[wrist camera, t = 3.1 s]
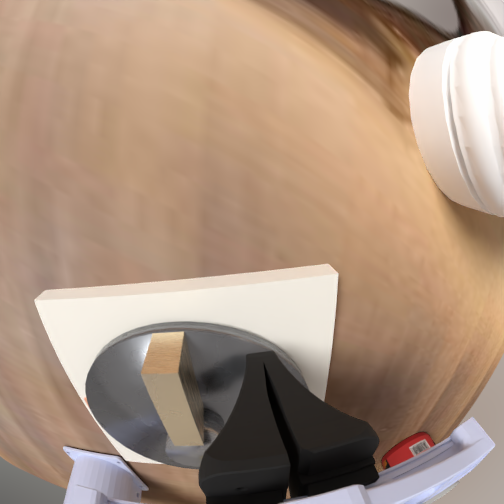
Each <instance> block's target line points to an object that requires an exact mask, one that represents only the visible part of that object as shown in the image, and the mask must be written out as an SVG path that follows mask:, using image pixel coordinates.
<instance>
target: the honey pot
mask: <svg viewBox="0 0 504 504" xmlns="http://www.w3.org/2000/svg"><path fill="white" fill-rule="evenodd" d="M409 101H410V111H411V121H412V125H413V129H414V133H415V137H416V141H417V145H418V148H419V150H420V153H421V155H422V158H423V160H424V163H425V165H426V168H427V170H428V171H429V173H430V175H431V176H432V178H433V180H434V181H435V183H436V185H437V186H438V188H439V189H440V190H441V191H442V192H443V193H444V194H445V195H446V196H447V197H448V198H449V199H450V200H452V201H454V202H456V203H458V204H460V205H462V206H465V207H468V208H472V209H475V210H478V211H482V212H485V213H488V214H491V215H496V216H498V217H504V36H503V37H500V36H498V35H496V34H494V33H491V32H489V31H480V32H475V33H471V34H470V35H465V36H461V37H459V38H455V39H452V40H449V41H446V42H443V43H441V44H438V45H435V46H432V47H430V48H427V49H425V50H424V51H423V52H422V53H421V55H420V56H419V57H418V58H417V59H416V62H415V64H414V67H413V70H412V72H411V78H410V89H409Z"/></svg>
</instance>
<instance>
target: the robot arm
mask: <svg viewBox="0 0 504 504" xmlns="http://www.w3.org/2000/svg"><path fill="white" fill-rule="evenodd" d="M378 444H379V438H378V436H377V434H376V433H375V431H374V430H373V429H372V427H371V426H370V425H369V424H368V422H365V421H362V420H359V419H357V418H354V417H351V416H349V415H347V414H345V413H343V412H341V411H339V410H337V409H335V408H334V407H332V406H330V405H328V404H327V403H325V402H324V401H322V400H321V399H319V398H318V397H317V396H315V395H314V394H313V393H311V392H310V391H309V390H308V389H307V388H306V387H304V386H303V385H302V384H301V383H300V382H299V381H298V380H297V379H296V378H295V377H294V376H293V375H292V374H291V372H290V371H289V370H288V369H287V368H286V367H285V365H284V364H283V363H282V362H281V360H280V359H279V358H278V356H277V355H276V353H275V352H274V351H266V352H258V353H250V354H247V355H246V368H245V374H244V379H243V383H242V387H241V390H240V393H239V396H238V398H237V401H236V404H235V406H234V408H233V410H232V412H231V414H230V416H229V418H228V420H227V422H226V424H225V425H224V427H223V428H222V430H221V431H220V433H219V434H218V436H217V437H216V439H215V440H214V441H213V442H212V444H211V445H210V446H209V447H208V448H207V450H206V451H205V452H204V455H203V458H202V461H201V464H200V468H199V486H200V488H201V489H202V491H203V492H204V494H205V495H206V504H423V503H424V502H426V501H428V500H429V499H431V498H433V497H434V496H436V495H437V494H439V493H440V492H442V491H443V490H445V489H446V488H448V487H449V486H451V485H452V484H454V483H455V482H456V481H458V480H459V479H461V478H462V477H463V476H465V475H466V474H467V473H469V472H470V471H471V470H473V469H474V468H475V467H476V466H477V465H478V463H480V462H481V460H482V459H484V457H485V456H486V455H487V454H488V453H489V452H490V451H491V450H492V449H493V448H494V447H495V444H494V442H493V441H492V440H491V439H490V437H489V436H488V435H487V433H486V432H485V431H484V430H483V429H482V427H481V426H480V425H479V424H478V422H477V421H476V420H475V419H474V417H471V418H469V419H468V420H466V421H465V422H464V423H462V424H460V425H459V426H458V427H457V428H455V430H454V431H453V432H452V433H451V435H450V437H448V438H447V439H445V440H443V441H442V442H440V443H438V444H437V445H435V446H433V447H431V448H429V449H428V450H426V451H424V452H422V453H420V454H418V455H416V456H414V457H412V458H410V459H408V460H406V461H404V462H402V463H400V464H397V465H395V466H393V467H391V468H388V469H386V470H384V471H381V472H379V473H378V472H377V470H376V468H375V466H374V464H375V460H374V458H373V454H374V452H375V450H376V448H377V447H378ZM63 450H64V451H65V452H66V453H67V454H68V455H69V456H70V457H71V458H72V459H73V460H74V461H75V463H74V466H73V470H72V473H71V477H70V480H69V484H68V488H67V492H66V496H65V500H64V504H144V503H140V502H141V492H142V490H145V491H148V490H149V488H148V487H147V486H146V485H145V484H144V483H143V482H142V481H141V479H140V478H139V477H138V476H137V475H136V474H135V473H134V472H133V471H132V470H131V469H130V467H129V466H128V465H127V464H126V463H125V462H124V460H123V459H122V458H121V457H119V456H113V455H107V454H100V453H95V452H89V451H84V450H80V449H75V448H71V447H67V446H64V447H63ZM288 486H289V491H290V497H291V498H290V499H286V492H287V489H288Z"/></svg>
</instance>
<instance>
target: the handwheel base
mask: <svg viewBox="0 0 504 504" xmlns="http://www.w3.org/2000/svg"><path fill="white" fill-rule="evenodd" d="M337 287H338V273H337V272H336V271H335V270H334V269H333V268H332V267H331V266H330V265H329V264H322V265H313V266H305V267H296V268H288V269H279V270H270V271H261V272H252V273H242V274H233V275H223V276H213V277H203V278H192V279H182V280H171V281H159V282H148V283H136V284H124V285H111V286H98V287H84V288H70V289H54V290H45V291H44V292H43V293H42V294H40V295H39V296H38V297H37V298H36V299H35V300H34V301H35V304H36V307H37V309H38V312H39V314H40V317H41V320H42V322H43V324H44V327H45V329H46V332H47V334H48V336H49V338H50V341H51V343H52V345H53V347H54V349H55V351H56V354H57V356H58V358H59V360H60V362H61V364H62V366H63V367H64V369H65V371H66V373H67V375H68V377H69V379H70V380H71V382H72V384H73V386H74V388H75V389H76V391H77V393H78V394H79V396H80V398H81V399H82V401H83V403H84V404H85V406H86V407H87V409H88V410H89V412H90V413H91V415H92V416H93V418H94V419H95V417H94V415H93V414H92V412H91V410H90V407H89V405H88V402H87V398H86V393H85V383H86V378H87V374H88V372H89V370H90V368H91V366H92V364H93V362H94V360H95V358H96V356H97V354H98V353H99V352H100V351H101V349H102V348H103V347H104V346H105V345H106V344H108V343H109V342H110V341H111V340H112V339H114V338H116V337H118V336H119V335H121V334H123V333H125V332H128V331H130V330H133V329H135V328H138V327H142V326H146V325H151V324H156V323H164V322H184V321H191V322H203V323H212V324H217V325H223V326H228V327H231V328H235V329H239V330H242V331H245V332H248V333H250V334H253V335H255V336H258V337H261V338H262V339H264V340H266V341H268V342H270V343H272V344H274V345H275V346H276V347H278V348H279V349H281V350H282V351H283V352H285V353H286V354H287V355H288V356H289V357H290V358H291V359H292V360H293V361H294V362H295V363H296V365H297V366H298V368H299V369H300V370H301V372H302V374H303V377H304V379H305V381H306V384H307V386H308V389H309V391H310V392H311V393H313V394H314V395H315V396H317V397H318V398H319V399H321V400H322V401H324V399H325V393H326V386H327V380H328V373H329V366H330V359H331V351H332V342H333V333H334V323H335V313H336V301H337ZM95 421H96V422H97V424H98V425H99V427H100V428H101V429H102V431H103V432H104V434H105V435H106V436H107V438H108V439H109V440H110V442H111V443H112V444H113V446H114V447H115V448H116V449H117V451H118V452H119V453H120V454H121V456H122V457H123V458H124V459H125V460H126V461H133V462H143V463H157V464H164V463H160V462H157V461H154V460H151V459H149V458H146V457H144V456H142V455H139V454H137V453H135V452H134V451H132V450H130V449H128V448H126V447H125V446H123V445H122V444H121V443H119V442H118V441H116V440H115V439H114V438H113V437H112V436H110V435H109V434H108V433H107V432H106V431H105V430H104V429H103V428H102V427H101V425H100V424H99V423H98V421H97V420H96V419H95Z"/></svg>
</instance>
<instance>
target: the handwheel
mask: <svg viewBox="0 0 504 504" xmlns="http://www.w3.org/2000/svg"><path fill="white" fill-rule="evenodd" d="M266 351H274V352H275V353H276V355H277V356H278V358H279V359H280V360H281V362H282V363H283V364H284V365H285V367H286V368H287V369H288V370H289V371H290V372H291V374H292V375H293V376H294V377H295V378H296V379H297V380H298V381H299V382H300V383H301V384H302V385H303V386H304V387H306V388H307V389H308V386H307V384H306V381H305V379H304V377H303V374H302V372H301V370H300V369H299V368H298V366H297V365H296V363H295V362H294V361H293V360H292V359H291V358H290V357H289V356H288V355H287V354H286V353H285V352H283V351H282V350H281V349H279V348H278V347H276V346H275V345H274V344H272V343H270V342H268V341H266V340H264V339H262V338H261V337H258V336H255V335H253V334H250V333H248V332H245V331H242V330H239V329H235V328H231V327H228V326H223V325H217V324H212V323H203V322H191V321H184V322H164V323H156V324H151V325H146V326H142V327H138V328H135V329H133V330H130V331H128V332H125V333H123V334H121V335H119V336H118V337H116V338H114V339H112V340H111V341H110V342H109V343H108V344H106V345H105V346H104V347H103V348H102V349H101V351H100V352H99V353H98V354H97V356H96V358H95V360H94V362H93V364H92V366H91V368H90V370H89V372H88V374H87V378H86V383H85V393H86V398H87V402H88V405H89V407H90V410H91V412H92V414H93V415H94V417H95V419H96V420H97V421H98V423H99V424H100V425H101V427H102V428H103V429H104V430H105V431H106V432H107V433H108V434H109V435H110V436H112V437H113V438H114V439H115V440H116V441H118V442H119V443H121V444H122V445H123V446H125V447H126V448H128V449H130V450H132V451H134V452H135V453H137V454H139V455H142V456H144V457H146V458H149V459H151V460H154V461H157V462H160V463H164V464H167V465H172V466H176V467H182V468H190V469H199V468H200V464H201V461H202V458H203V455H204V452H205V451H206V450H207V448H208V447H209V446H210V445H211V444H212V442H213V441H214V440H215V439H216V437H217V436H218V434H219V433H220V431H221V430H222V428H223V427H224V425H225V424H226V422H227V420H228V418H229V416H230V414H231V412H232V410H233V408H234V406H235V404H236V401H237V398H238V396H239V393H240V390H241V387H242V383H243V379H244V374H245V368H246V355H247V354H250V353H258V352H266ZM308 390H309V389H308Z"/></svg>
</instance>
